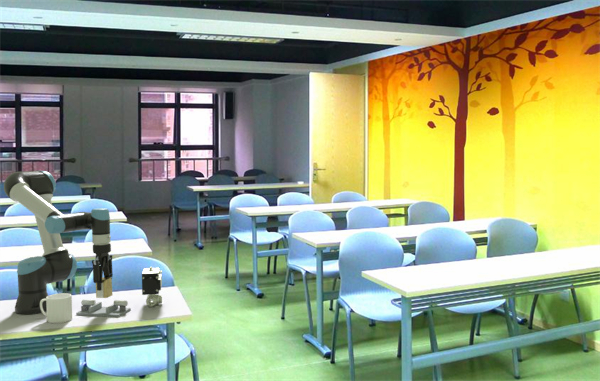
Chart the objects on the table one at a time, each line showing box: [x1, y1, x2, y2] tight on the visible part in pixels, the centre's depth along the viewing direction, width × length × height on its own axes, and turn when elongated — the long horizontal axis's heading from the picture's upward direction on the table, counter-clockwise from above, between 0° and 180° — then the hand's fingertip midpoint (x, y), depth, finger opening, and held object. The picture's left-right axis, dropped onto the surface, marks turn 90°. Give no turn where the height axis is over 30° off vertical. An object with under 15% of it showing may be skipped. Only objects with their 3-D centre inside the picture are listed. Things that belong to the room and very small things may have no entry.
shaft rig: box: [75, 299, 131, 318], centre depth 261 cm, size 20×11×5 cm, turn 79°
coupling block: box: [95, 276, 113, 299], centre depth 260 cm, size 5×5×8 cm
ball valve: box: [141, 266, 163, 307], centre depth 273 cm, size 18×8×18 cm, turn 11°
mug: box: [40, 292, 73, 324], centre depth 250 cm, size 13×10×10 cm
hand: (103, 295), depth 261 cm, fingers closed on coupling block, 5 cm apart
